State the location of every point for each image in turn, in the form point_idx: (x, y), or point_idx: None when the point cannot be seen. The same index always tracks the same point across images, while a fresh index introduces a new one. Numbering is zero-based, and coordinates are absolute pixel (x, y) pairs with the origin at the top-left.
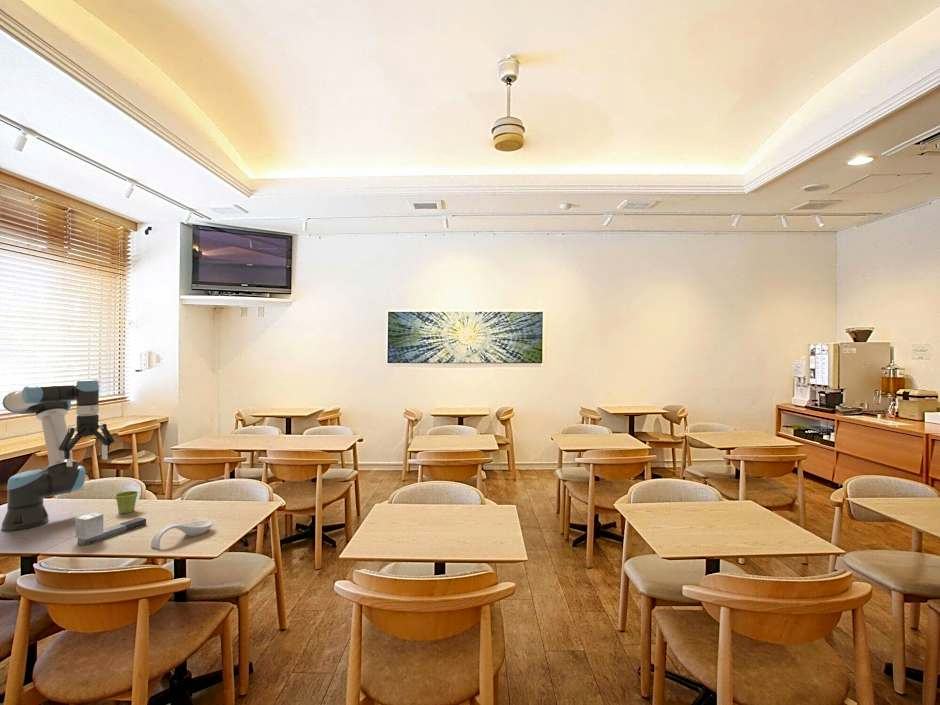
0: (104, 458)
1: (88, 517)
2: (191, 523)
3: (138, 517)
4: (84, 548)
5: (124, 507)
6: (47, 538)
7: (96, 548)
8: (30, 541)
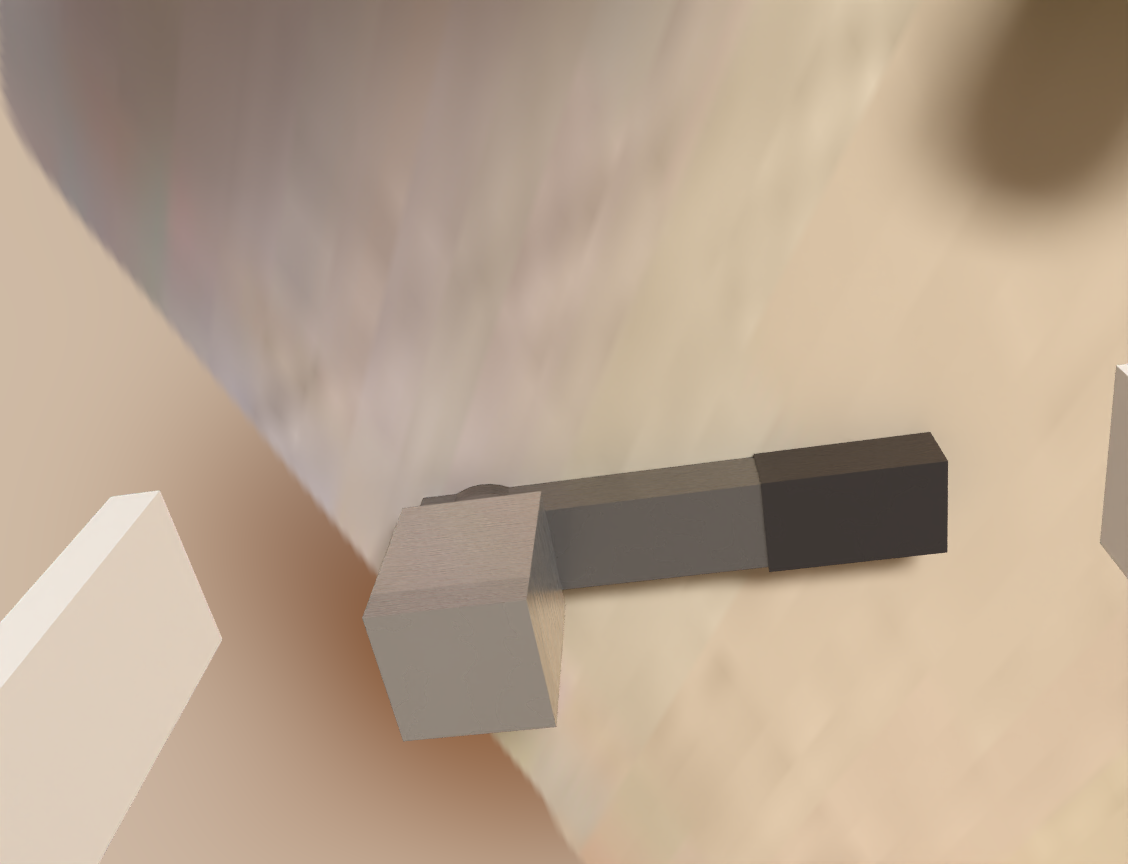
0: (1125, 510)
1: (441, 704)
2: None
3: (941, 461)
4: None
5: None
6: (286, 130)
7: None
8: (162, 79)
